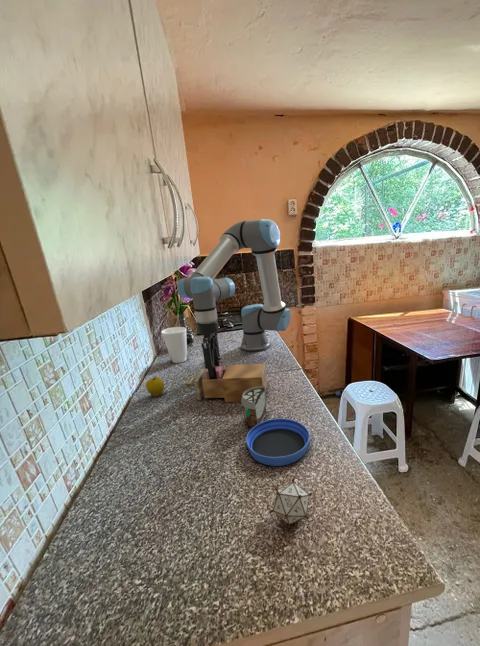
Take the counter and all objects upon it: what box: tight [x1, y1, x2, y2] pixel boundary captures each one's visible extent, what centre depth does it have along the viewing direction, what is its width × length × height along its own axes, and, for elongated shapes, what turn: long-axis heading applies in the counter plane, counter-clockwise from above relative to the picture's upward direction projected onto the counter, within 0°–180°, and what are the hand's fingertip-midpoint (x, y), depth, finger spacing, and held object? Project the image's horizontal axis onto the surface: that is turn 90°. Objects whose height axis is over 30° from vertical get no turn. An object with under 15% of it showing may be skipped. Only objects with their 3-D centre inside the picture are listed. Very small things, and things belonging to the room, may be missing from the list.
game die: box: [268, 477, 314, 530], centre depth 65 cm, size 9×8×10 cm
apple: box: [145, 376, 165, 398], centre depth 121 cm, size 6×6×8 cm
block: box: [206, 365, 223, 380], centre depth 118 cm, size 5×5×5 cm
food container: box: [240, 386, 267, 429], centre depth 101 cm, size 12×6×10 cm, turn 168°
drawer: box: [186, 368, 227, 401], centre depth 119 cm, size 18×11×8 cm, turn 89°
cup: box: [161, 326, 188, 364], centre depth 155 cm, size 12×12×16 cm
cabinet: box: [222, 363, 268, 403], centre depth 119 cm, size 15×13×10 cm
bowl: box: [245, 418, 311, 467], centre depth 89 cm, size 18×18×4 cm
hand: (215, 379), depth 119 cm, fingers closed on block, 5 cm apart
